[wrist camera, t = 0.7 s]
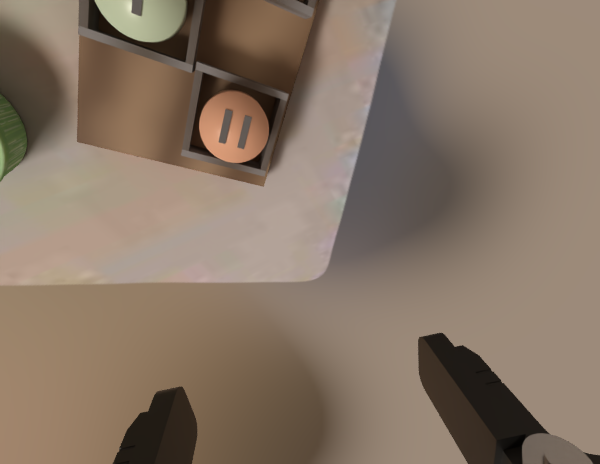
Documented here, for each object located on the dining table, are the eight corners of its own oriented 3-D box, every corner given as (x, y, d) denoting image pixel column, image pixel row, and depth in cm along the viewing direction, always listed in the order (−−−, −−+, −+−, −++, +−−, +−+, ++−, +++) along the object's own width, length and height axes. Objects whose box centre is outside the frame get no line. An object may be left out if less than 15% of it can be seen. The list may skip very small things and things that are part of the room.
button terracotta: (195, 146, 25) (193, 153, 23) (207, 79, 23) (206, 82, 21) (256, 162, 26) (259, 170, 25) (273, 101, 24) (277, 105, 23)
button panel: (86, 135, 26) (66, 148, 22) (100, -269, 17) (69, -351, 13) (261, 179, 31) (266, 195, 28) (346, -113, 22) (369, -142, 18)
